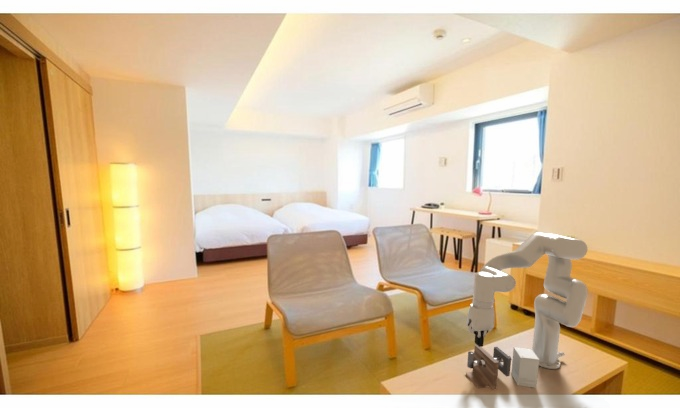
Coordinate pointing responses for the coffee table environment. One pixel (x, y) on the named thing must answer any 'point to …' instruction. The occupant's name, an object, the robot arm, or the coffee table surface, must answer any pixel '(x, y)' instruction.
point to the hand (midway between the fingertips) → (478, 344)
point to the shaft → (472, 363)
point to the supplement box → (525, 367)
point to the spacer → (506, 364)
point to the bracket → (484, 370)
